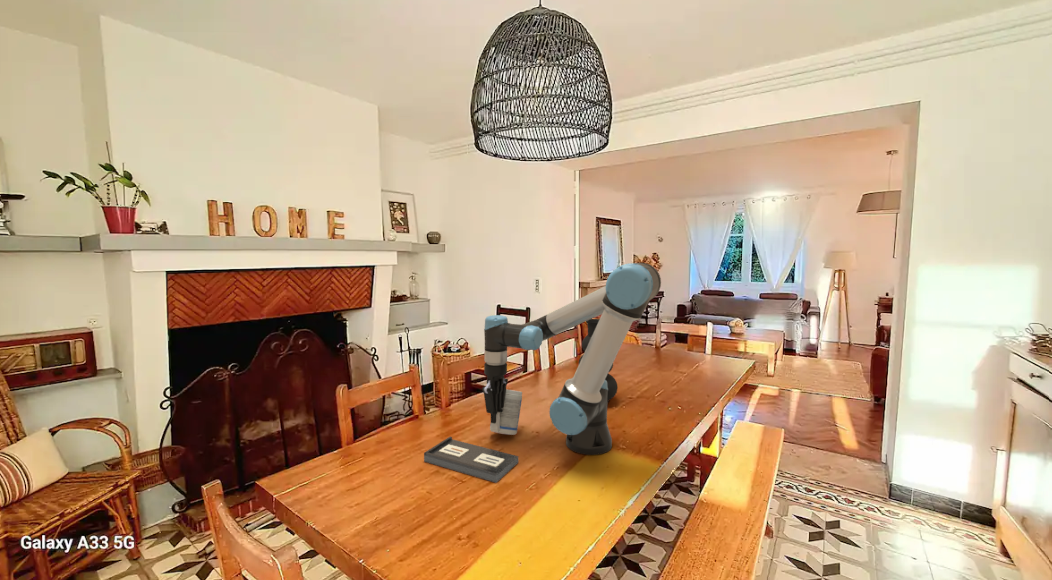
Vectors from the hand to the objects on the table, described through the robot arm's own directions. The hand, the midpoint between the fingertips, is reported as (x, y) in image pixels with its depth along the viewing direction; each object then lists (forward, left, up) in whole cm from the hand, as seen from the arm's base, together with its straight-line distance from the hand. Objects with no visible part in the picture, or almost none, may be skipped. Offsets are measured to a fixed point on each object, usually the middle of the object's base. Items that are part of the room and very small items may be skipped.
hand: (495, 431), depth 146 cm
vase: (-17, -52, -4) cm, 55 cm away
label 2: (-7, +15, -2) cm, 16 cm away
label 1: (+6, +15, -2) cm, 16 cm away
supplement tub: (0, -5, -3) cm, 5 cm away
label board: (0, +15, -4) cm, 15 cm away
